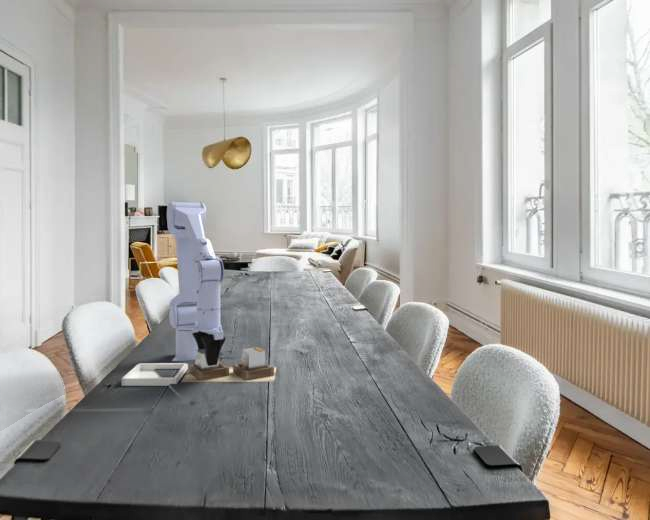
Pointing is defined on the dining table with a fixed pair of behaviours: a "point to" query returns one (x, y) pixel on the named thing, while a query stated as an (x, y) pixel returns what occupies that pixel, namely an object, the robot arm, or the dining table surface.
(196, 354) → the loose billet
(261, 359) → the seated billet
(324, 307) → the dining table surface
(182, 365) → the white square tray
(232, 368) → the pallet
